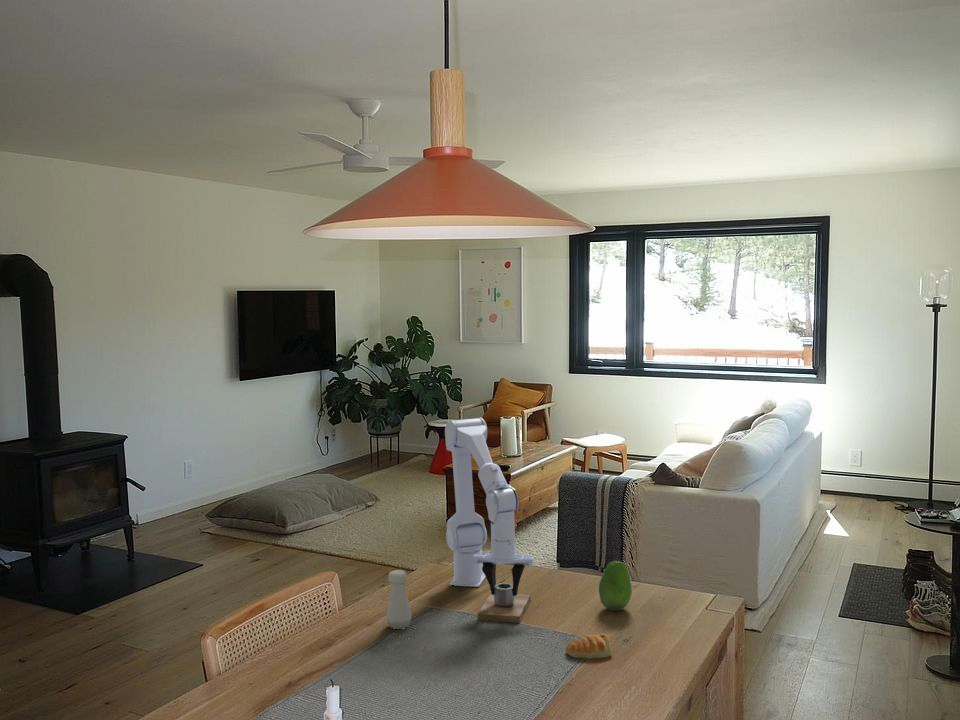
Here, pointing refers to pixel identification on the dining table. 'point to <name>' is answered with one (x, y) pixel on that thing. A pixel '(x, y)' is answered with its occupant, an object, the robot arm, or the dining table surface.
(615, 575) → the avocado
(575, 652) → the pastry
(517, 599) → the shaft block
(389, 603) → the salt shaker
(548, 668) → the dining table surface
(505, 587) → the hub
